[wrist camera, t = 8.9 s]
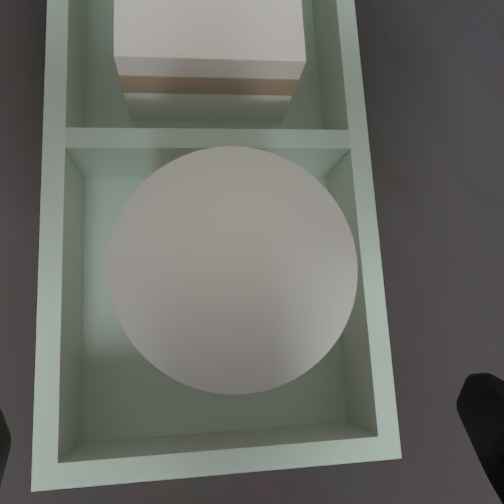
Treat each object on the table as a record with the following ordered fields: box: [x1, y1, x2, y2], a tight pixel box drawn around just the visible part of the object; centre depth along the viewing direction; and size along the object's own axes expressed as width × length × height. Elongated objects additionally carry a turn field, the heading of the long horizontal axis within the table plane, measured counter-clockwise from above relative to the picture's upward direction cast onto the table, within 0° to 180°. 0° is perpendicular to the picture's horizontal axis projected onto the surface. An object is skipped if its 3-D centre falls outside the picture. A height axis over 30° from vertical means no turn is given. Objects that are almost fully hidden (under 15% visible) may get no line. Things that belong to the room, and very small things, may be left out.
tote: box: [31, 0, 402, 492], centre depth 20 cm, size 24×13×4 cm, turn 2°
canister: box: [107, 146, 358, 394], centre depth 16 cm, size 6×6×10 cm
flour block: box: [114, 0, 306, 123], centre depth 20 cm, size 7×7×5 cm
